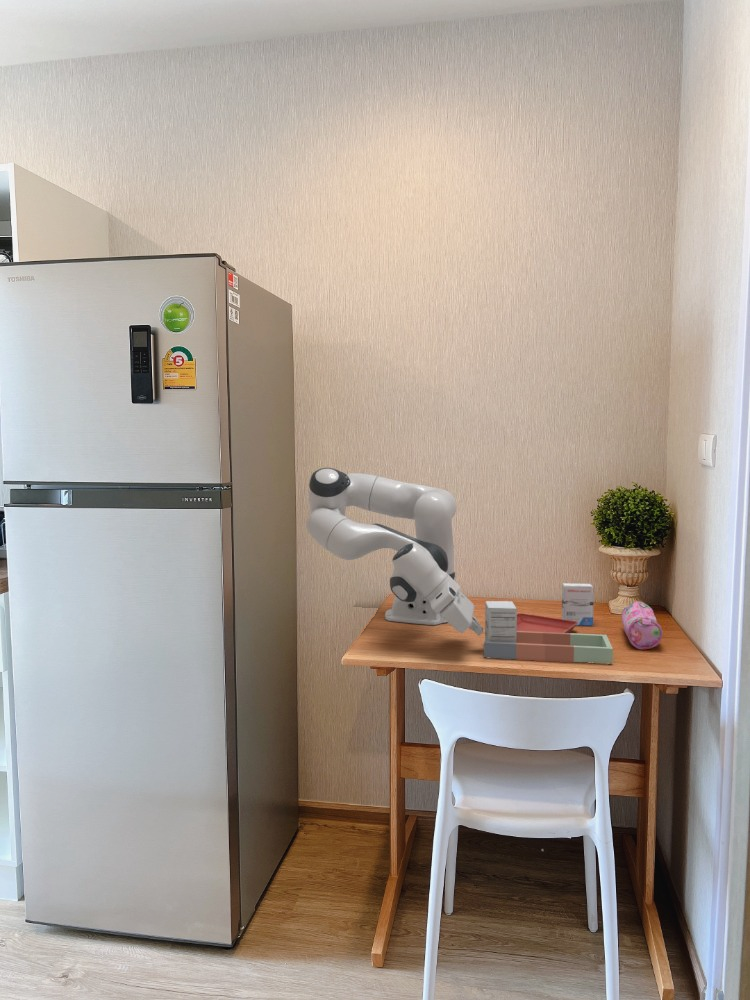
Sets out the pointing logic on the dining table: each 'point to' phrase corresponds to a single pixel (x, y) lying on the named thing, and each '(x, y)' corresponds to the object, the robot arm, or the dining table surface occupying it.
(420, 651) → the dining table surface
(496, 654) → the channel
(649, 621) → the pencil case
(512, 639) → the supplement box
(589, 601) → the ink box
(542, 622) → the plant saucer
